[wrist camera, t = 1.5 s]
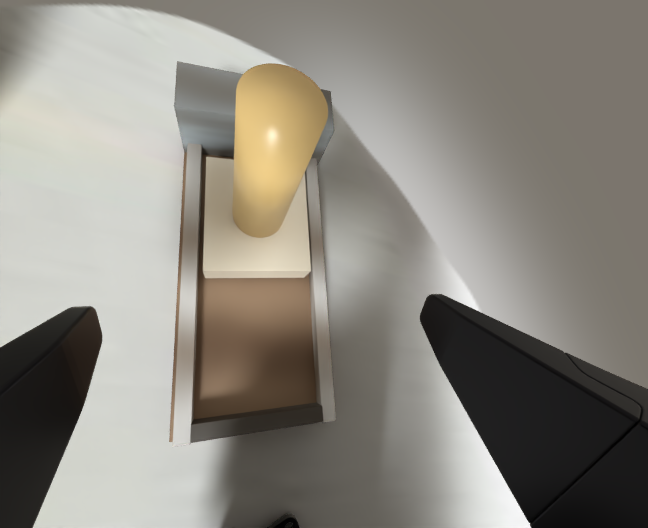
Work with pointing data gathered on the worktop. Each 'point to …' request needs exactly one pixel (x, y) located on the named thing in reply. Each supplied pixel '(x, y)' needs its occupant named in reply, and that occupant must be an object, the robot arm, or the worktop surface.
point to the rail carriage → (264, 178)
